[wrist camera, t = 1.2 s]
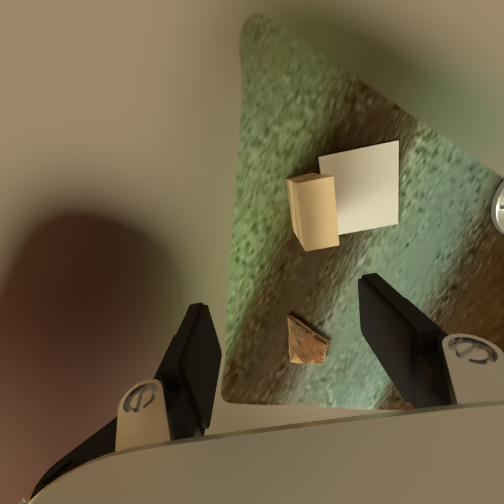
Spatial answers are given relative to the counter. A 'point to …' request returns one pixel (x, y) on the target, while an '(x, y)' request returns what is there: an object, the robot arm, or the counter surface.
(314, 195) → the wood block
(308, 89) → the counter surface
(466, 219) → the counter surface
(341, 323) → the counter surface
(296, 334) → the shard
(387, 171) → the plastic mat
